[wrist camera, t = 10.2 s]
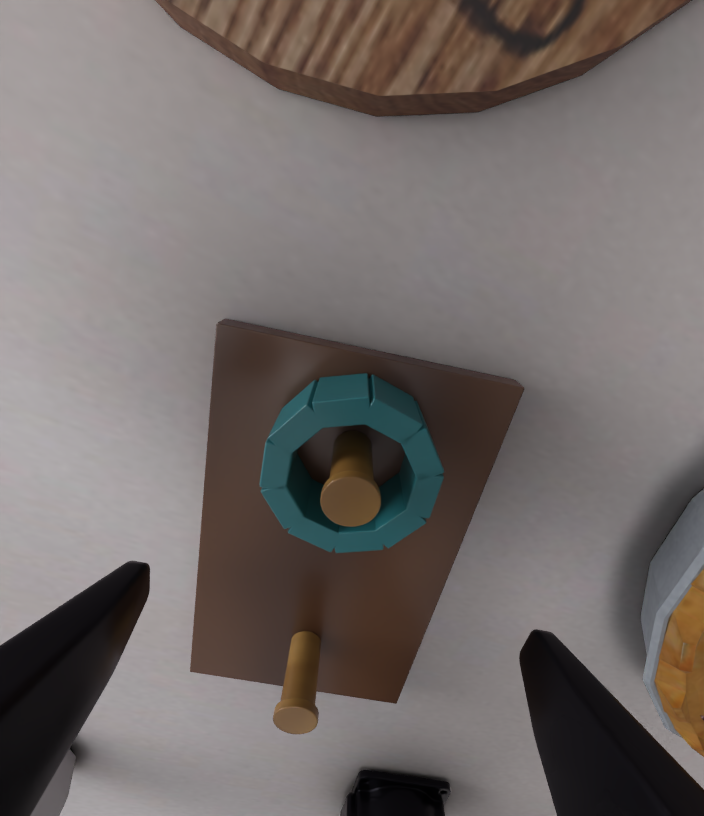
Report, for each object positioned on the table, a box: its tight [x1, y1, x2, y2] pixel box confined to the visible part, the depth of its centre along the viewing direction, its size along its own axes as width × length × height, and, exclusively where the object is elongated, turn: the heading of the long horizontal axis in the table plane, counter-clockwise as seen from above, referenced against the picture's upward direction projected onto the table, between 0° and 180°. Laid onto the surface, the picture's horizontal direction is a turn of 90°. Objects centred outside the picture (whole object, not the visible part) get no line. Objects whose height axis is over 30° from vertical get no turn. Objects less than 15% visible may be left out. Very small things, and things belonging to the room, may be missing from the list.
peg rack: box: [190, 319, 524, 734], centre depth 17 cm, size 12×20×5 cm, turn 168°
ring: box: [259, 373, 444, 553], centre depth 15 cm, size 6×7×3 cm
